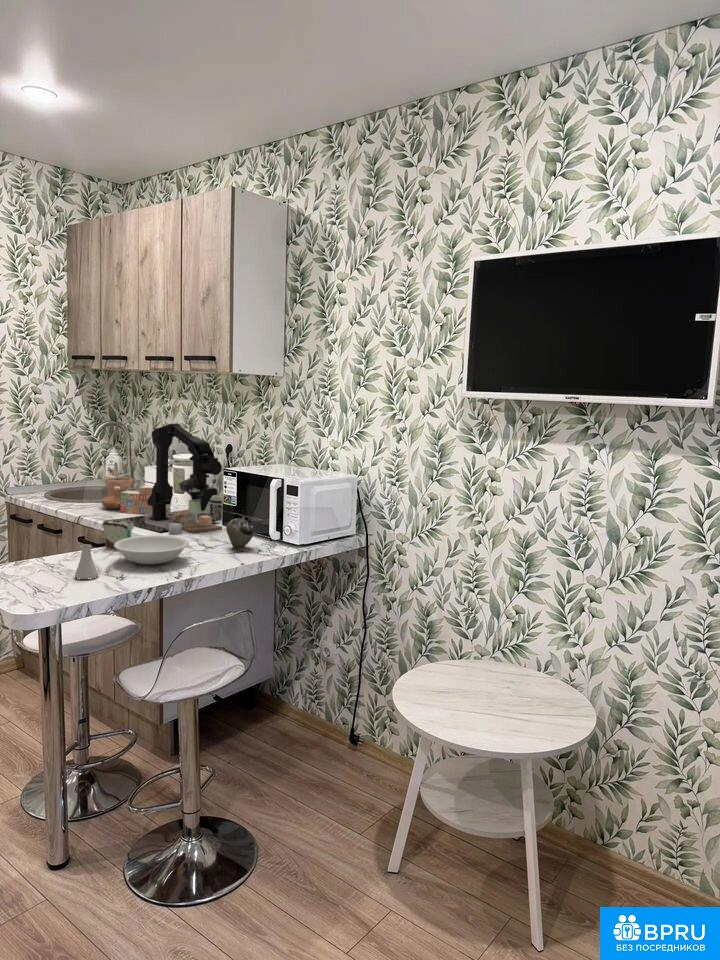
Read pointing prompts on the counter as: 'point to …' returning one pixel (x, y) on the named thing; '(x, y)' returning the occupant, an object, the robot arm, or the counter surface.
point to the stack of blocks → (138, 501)
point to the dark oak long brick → (183, 516)
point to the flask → (86, 564)
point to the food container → (116, 531)
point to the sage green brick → (198, 507)
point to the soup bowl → (151, 548)
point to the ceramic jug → (115, 491)
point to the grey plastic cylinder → (175, 528)
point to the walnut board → (200, 527)
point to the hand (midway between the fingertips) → (199, 509)
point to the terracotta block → (204, 519)
